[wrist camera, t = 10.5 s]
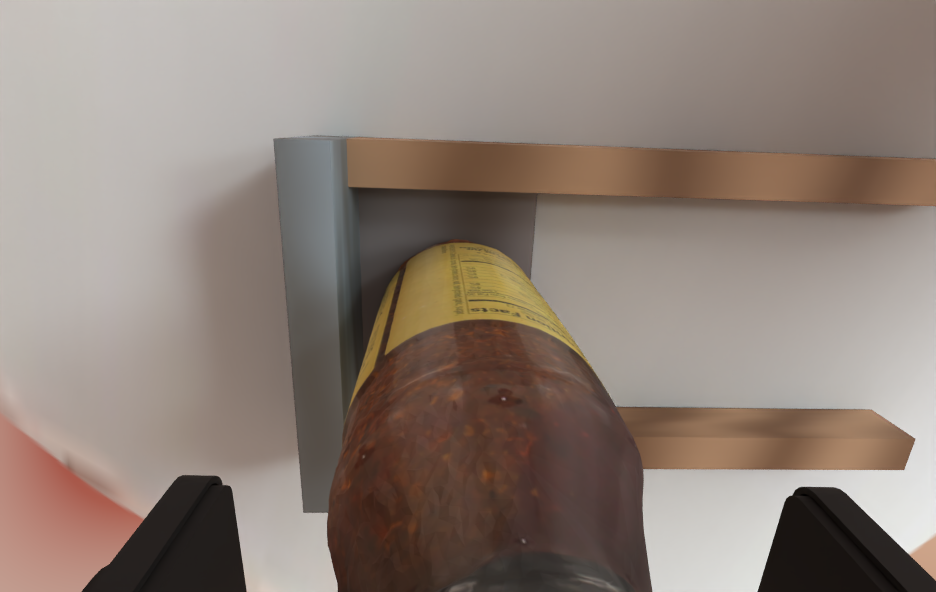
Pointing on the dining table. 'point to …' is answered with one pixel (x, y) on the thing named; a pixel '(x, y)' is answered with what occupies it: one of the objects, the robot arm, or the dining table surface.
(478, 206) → the wooden u-shaped frame
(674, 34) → the dining table surface
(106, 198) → the dining table surface
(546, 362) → the sauce bottle
